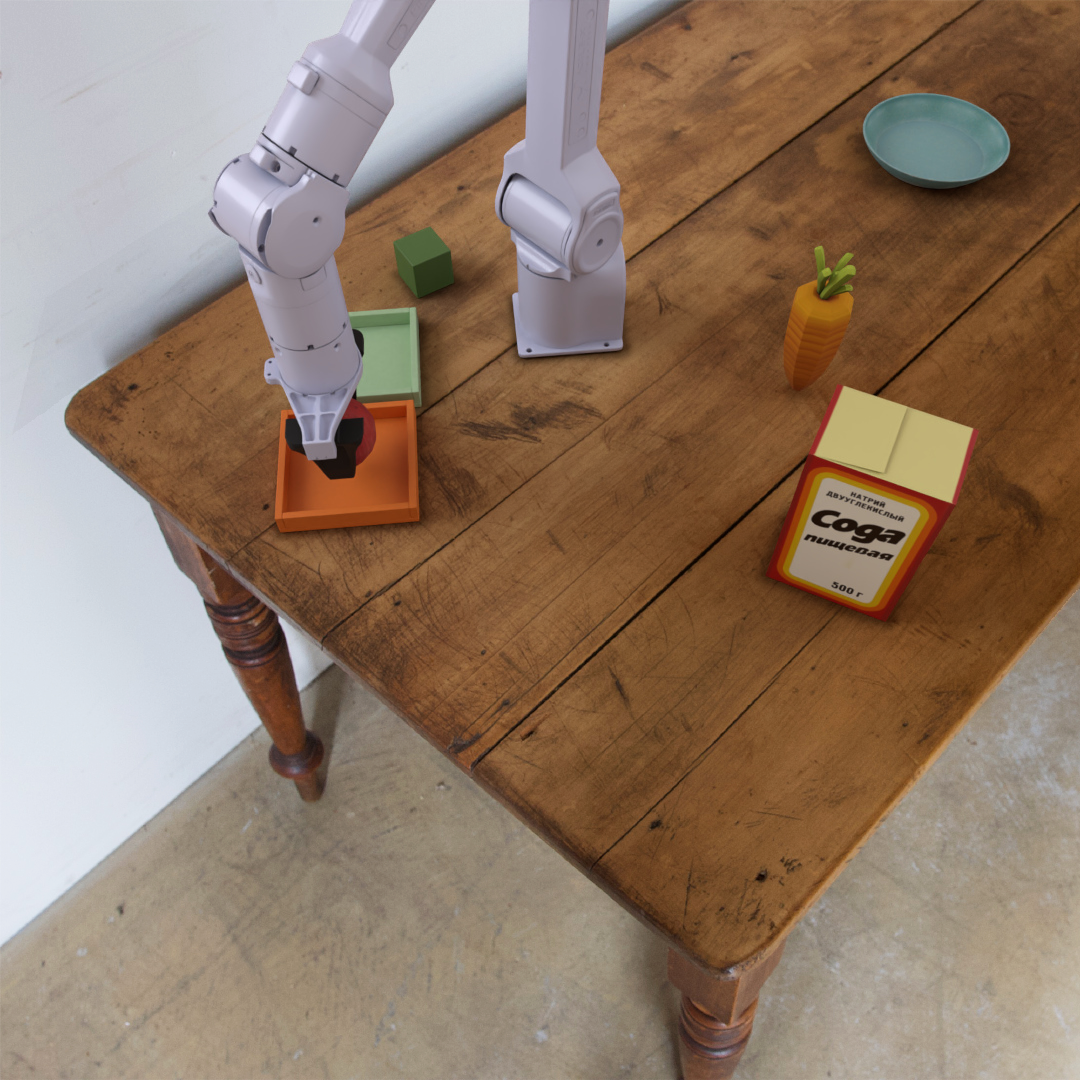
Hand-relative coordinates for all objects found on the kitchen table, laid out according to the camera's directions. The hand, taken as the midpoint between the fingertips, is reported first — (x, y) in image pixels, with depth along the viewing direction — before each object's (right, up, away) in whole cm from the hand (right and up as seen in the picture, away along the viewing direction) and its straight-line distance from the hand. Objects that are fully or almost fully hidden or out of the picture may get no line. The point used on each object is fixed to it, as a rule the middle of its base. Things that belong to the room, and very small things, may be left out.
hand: (342, 442), depth 80 cm
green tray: (0, +8, +9) cm, 12 cm away
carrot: (+38, +5, +8) cm, 40 cm away
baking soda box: (+39, -10, -2) cm, 40 cm away
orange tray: (0, -2, +3) cm, 4 cm away
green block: (+5, +17, +15) cm, 24 cm away
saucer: (+57, +32, +24) cm, 70 cm away
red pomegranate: (0, -1, +2) cm, 3 cm away
